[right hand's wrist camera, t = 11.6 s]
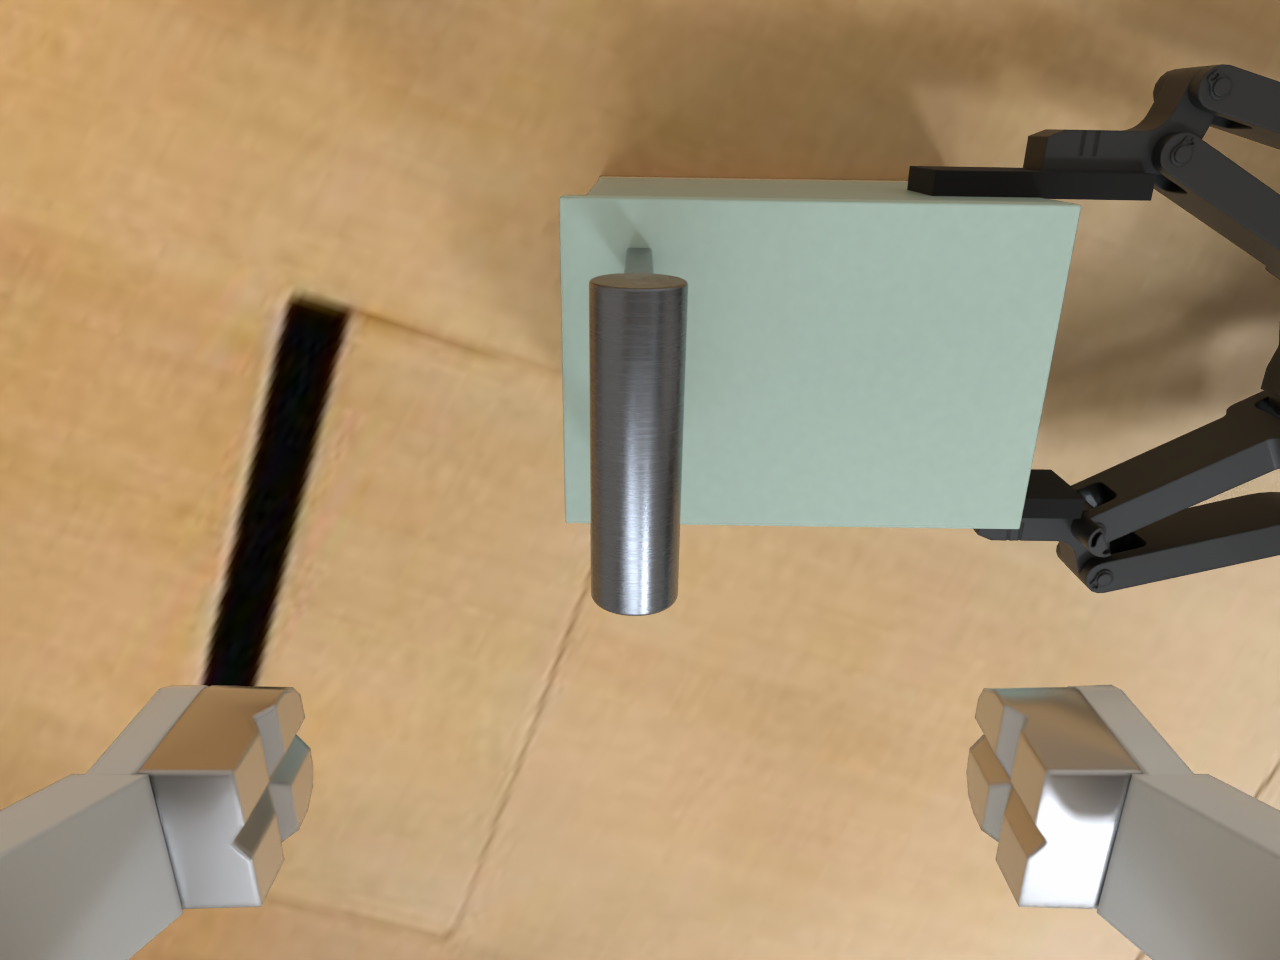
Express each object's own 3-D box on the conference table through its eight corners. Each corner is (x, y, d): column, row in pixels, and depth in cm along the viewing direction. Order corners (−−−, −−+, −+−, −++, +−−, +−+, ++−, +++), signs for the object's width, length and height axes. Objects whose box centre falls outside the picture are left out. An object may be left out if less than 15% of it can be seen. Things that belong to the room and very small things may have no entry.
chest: (600, 419, 37) (587, 512, 28) (599, 176, 34) (584, 194, 25) (921, 424, 37) (1008, 517, 28) (955, 181, 34) (1067, 202, 25)
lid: (567, 512, 28) (539, 658, 21) (561, 195, 25) (525, 227, 17) (1009, 518, 28) (1147, 666, 21) (1067, 202, 25) (1262, 237, 17)
